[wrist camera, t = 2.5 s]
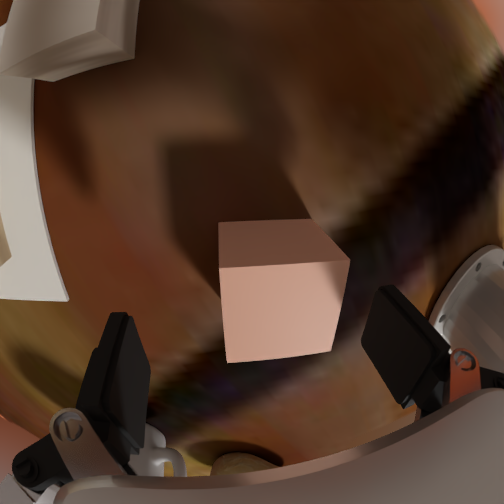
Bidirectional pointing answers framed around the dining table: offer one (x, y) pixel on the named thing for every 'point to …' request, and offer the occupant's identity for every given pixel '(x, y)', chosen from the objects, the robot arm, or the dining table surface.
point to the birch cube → (67, 37)
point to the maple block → (3, 245)
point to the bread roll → (239, 464)
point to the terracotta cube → (279, 288)
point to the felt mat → (23, 200)
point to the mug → (156, 456)
